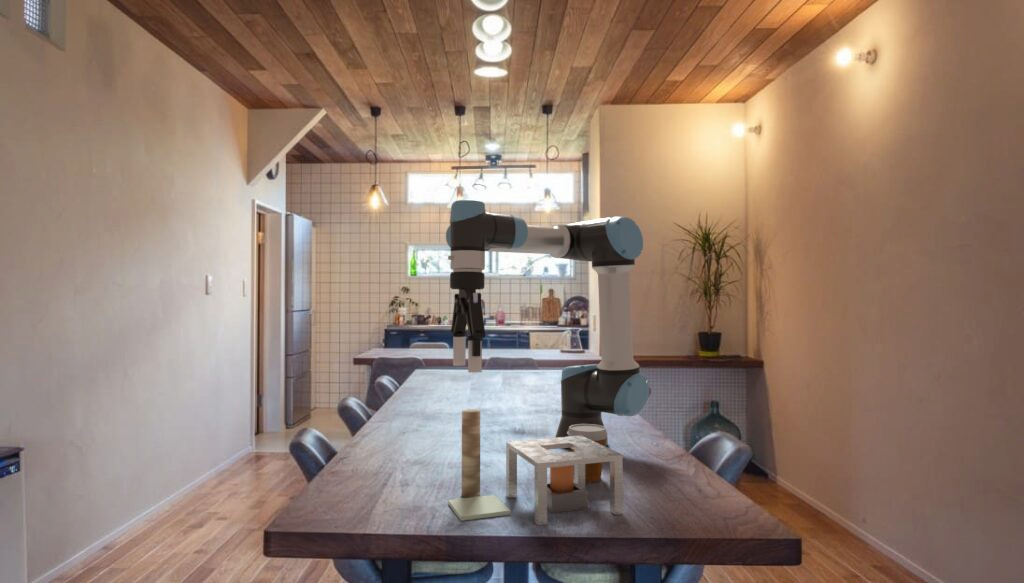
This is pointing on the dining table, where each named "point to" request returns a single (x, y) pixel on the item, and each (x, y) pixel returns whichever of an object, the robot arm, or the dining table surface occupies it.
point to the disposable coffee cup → (596, 435)
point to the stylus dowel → (470, 453)
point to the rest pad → (478, 507)
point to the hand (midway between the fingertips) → (466, 368)
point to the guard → (544, 459)
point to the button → (562, 478)
